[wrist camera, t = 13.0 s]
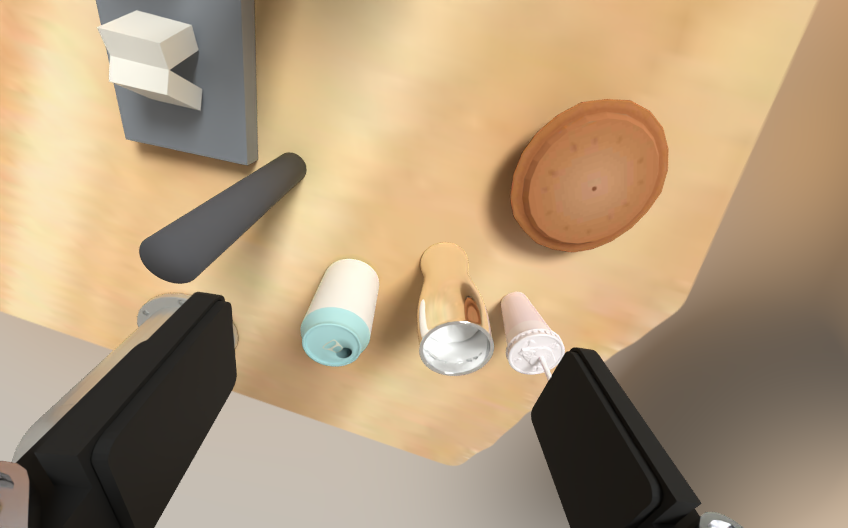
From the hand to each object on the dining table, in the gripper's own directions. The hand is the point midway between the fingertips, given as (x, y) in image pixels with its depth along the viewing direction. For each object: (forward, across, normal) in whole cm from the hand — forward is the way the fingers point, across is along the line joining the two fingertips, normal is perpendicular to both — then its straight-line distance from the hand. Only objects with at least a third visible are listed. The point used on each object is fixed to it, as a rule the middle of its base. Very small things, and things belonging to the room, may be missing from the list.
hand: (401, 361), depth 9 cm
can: (+30, +4, +17) cm, 34 cm away
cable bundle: (+29, +12, +4) cm, 32 cm away
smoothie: (+29, -18, +16) cm, 38 cm away
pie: (+29, -18, -2) cm, 34 cm away
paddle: (+27, +21, -1) cm, 34 cm away
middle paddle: (+27, +21, -6) cm, 34 cm away
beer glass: (+29, -7, +12) cm, 32 cm away
